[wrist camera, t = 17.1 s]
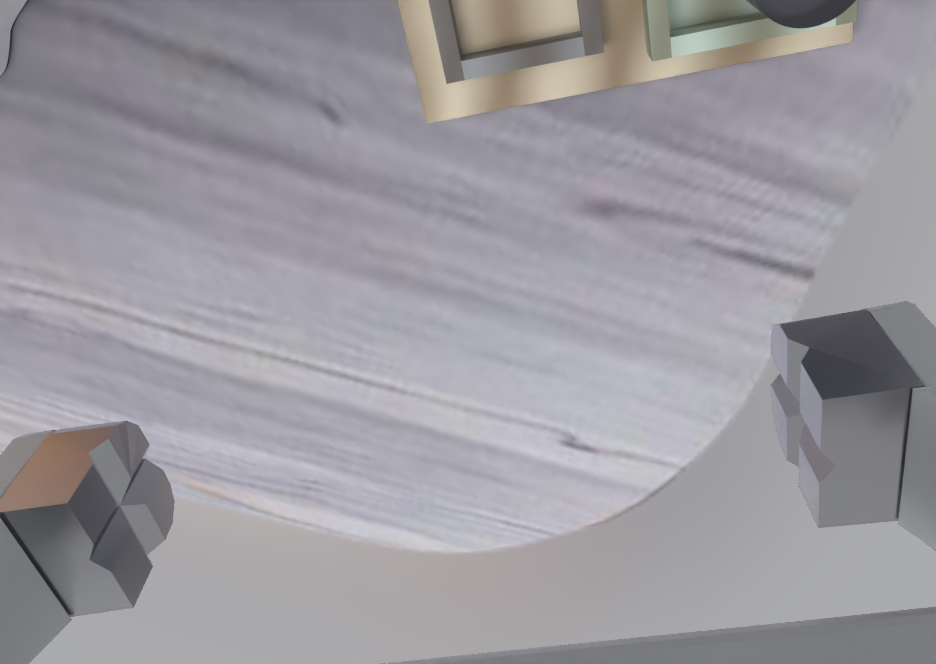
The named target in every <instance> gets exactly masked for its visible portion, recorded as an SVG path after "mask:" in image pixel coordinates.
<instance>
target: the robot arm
mask: <svg viewBox="0 0 936 664" xmlns="http://www.w3.org/2000/svg"><path fill="white" fill-rule="evenodd" d="M26 2H27V0H0V75H1V74H3V72H4V71H5V68H6V66H7V62H8V56H9V47H10V32H11V28H12V25H13V23H14V21H15V19H16V17H17V16H18V14H19V12H20V11H21V9H22V8H23V6H24V5H25V3H26ZM771 356H772V358H773V360H774V362H775V364H776V365H777V368H778V370H779V372H780V374H779V375H778V376H777V378H776V379H775V380H774V382H773V383H772V384H771V393H772V394H771V396H772V411H773V417H774V423H775V429H776V432H777V435H778V439H779V442H780V445H781V447H782V450H783V451H784V454H785V456H786V459H787V460H788V461H790V462H792V463H793V464H795V465H797V466H798V467H799V488H800V490H801V492H802V494H803V496H804V498H805V500H806V503H807V505H808V507H809V509H810V511H811V513H812V515H813V518H814V520H815V522H816V524H817V526H818V528H823V527H833V526H844V525H855V524H866V523H877V522H888V521H898V524H899V525H900V526H902V527H903V528H904V529H906V530H907V531H909V532H910V533H911V534H913V535H914V536H916V537H917V538H919V539H920V540H921V541H923V542H924V543H926V544H927V545H928V546H930V547H931V548H933V549H934V550H935V551H936V328H935V327H934V325H933V324H932V323H931V322H930V321H929V320H928V319H927V318H926V317H925V315H924V314H923V313H922V312H921V311H920V310H919V309H918V308H917V306H916V305H915V304H912V303H910V302H907V301H905V302H899V303H894V304H889V305H883V306H877V307H872V308H867V309H862V310H860V311H853V312H848V313H842V314H836V315H829V316H823V317H818V318H812V319H805V320H800V321H794V322H788V323H782V324H776V325H773V328H772V333H771ZM148 448H149V443H148V441H147V439H146V438H145V436H144V434H143V433H142V431H141V429H140V428H139V426H138V425H136V424H133V423H131V422H128V421H121V422H113V423H105V424H98V425H90V426H82V427H74V428H66V429H60V430H50V431H44V432H38V433H31V434H26V435H23V436H20V437H18V438H15V439H13V440H12V442H11V443H10V444H9V446H8V447H7V448H6V449H5V451H4V452H3V453H2V454H1V456H0V664H29V663H30V662H31V661H32V660H33V659H34V658H35V657H36V656H37V655H38V654H39V653H40V652H41V651H42V650H43V649H44V648H45V647H46V645H48V644H49V643H50V641H52V640H53V638H54V637H55V636H56V635H57V634H58V633H59V632H60V631H61V630H62V629H63V628H64V627H65V626H66V625H67V624H68V623H69V622H70V621H71V618H70V617H74V616H80V615H88V614H94V613H101V612H108V611H115V610H122V609H128V608H133V607H134V605H135V603H136V601H137V599H138V597H139V595H140V593H141V591H142V589H143V586H144V584H145V582H146V580H147V578H148V576H149V574H150V571H151V569H152V567H153V565H152V563H151V560H150V558H149V555H148V554H149V553H150V552H151V551H152V550H153V549H155V548H156V547H157V546H158V545H160V544H161V543H162V542H163V541H164V540H165V539H166V537H167V534H168V532H169V530H170V528H171V525H172V523H173V511H174V498H173V493H172V489H171V485H170V483H169V481H168V479H167V477H166V475H165V473H164V471H163V470H162V469H161V468H159V467H157V466H156V465H154V464H153V463H151V462H150V461H148V460H147V459H146V455H147V452H148ZM383 664H936V607H928V608H919V609H909V610H899V611H890V612H880V613H871V614H862V615H852V616H844V617H833V618H824V619H815V620H805V621H796V622H786V623H778V624H768V625H757V626H747V627H737V628H727V629H717V630H708V631H697V632H688V633H678V634H668V635H658V636H648V637H638V638H629V639H618V640H608V641H599V642H589V643H578V644H568V645H558V646H548V647H538V648H529V649H519V650H509V651H500V652H489V653H479V654H469V655H460V656H450V657H440V658H430V659H421V660H412V661H401V662H392V663H383Z"/></svg>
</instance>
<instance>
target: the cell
mask: <svg viewBox="0 0 936 664" xmlns="http://www.w3.org/2000/svg"><path fill="white" fill-rule="evenodd" d="M746 1H747V2H749V3H750V4H751V5H752V6H754V7H755V8H756V9H758V10H759V11H760V12H762V13H763V14H764V15H765V16H767V17H768V18H769V19H771V20H772V21H774V22H776V23H778V24H780V25H782V26H786V27H790V28H811V27H815V26H819V25H822V24H824V23H827V22H829V21H831V20H833V19H835V18H836V17H838V16H839V15H841V14H842V13H843V12H845V11H846V10H847V9H848V8H849V7H850V6H851V5H852V4H853V3H854V2H855V1H856V0H746Z"/></svg>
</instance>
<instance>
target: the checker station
mask: <svg viewBox="0 0 936 664" xmlns="http://www.w3.org/2000/svg"><path fill="white" fill-rule="evenodd" d="M397 1H398V5H399V9H400V13H401V18H402V22H403V26H404V30H405V35H406V39H407V43H408V47H409V52H410V56H411V60H412V64H413V68H414V73H415V77H416V81H417V85H418V90H419V94H420V98H421V102H422V106H423V111H424V115H425V119H426V123H427V124H428V123H433V122H438V121H444V120H449V119H454V118H459V117H464V116H470V115H475V114H480V113H485V112H490V111H496V110H501V109H506V108H511V107H516V106H522V105H527V104H532V103H537V102H542V101H548V100H553V99H558V98H563V97H568V96H574V95H579V94H584V93H589V92H595V91H600V90H605V89H610V88H615V87H621V86H626V85H631V84H636V83H641V82H647V81H652V80H657V79H662V78H667V77H673V76H678V75H683V74H688V73H693V72H699V71H704V70H709V69H714V68H720V67H725V66H730V65H735V64H740V63H746V62H751V61H756V60H761V59H766V58H772V57H777V56H782V55H787V54H792V53H798V52H803V51H808V50H813V49H818V48H824V47H829V46H834V45H839V44H845V43H850V42H852V40H853V22H857V4H858V0H856V1H855V2H854V3H853V4H852V5H851V6H850V7H849V8H848V9H847V10H846V11H845V12H843V13H842V14H841V15H839V16H838V17H836V18H835V19H833V20H831V21H829V22H827V23H824V24H822V25H819V26H815V27H811V28H790V27H786V26H782V25H780V24H778V23H776V22H774V21H772V20H771V19H769V18H768V17H767V16H765V15H764V14H763V13H762V12H760V11H759V10H758V9H756V8H755V7H754V6H752V5H751V4H750V3H749V2H747V1H746V0H397Z"/></svg>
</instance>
